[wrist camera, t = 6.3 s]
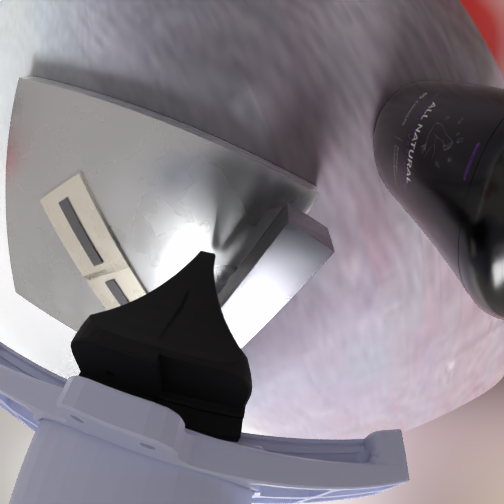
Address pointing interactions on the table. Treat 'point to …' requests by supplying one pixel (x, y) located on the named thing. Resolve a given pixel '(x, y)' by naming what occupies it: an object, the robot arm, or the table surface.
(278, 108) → the table surface
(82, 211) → the square grey plate
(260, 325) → the swing arm
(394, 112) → the supplement bottle
